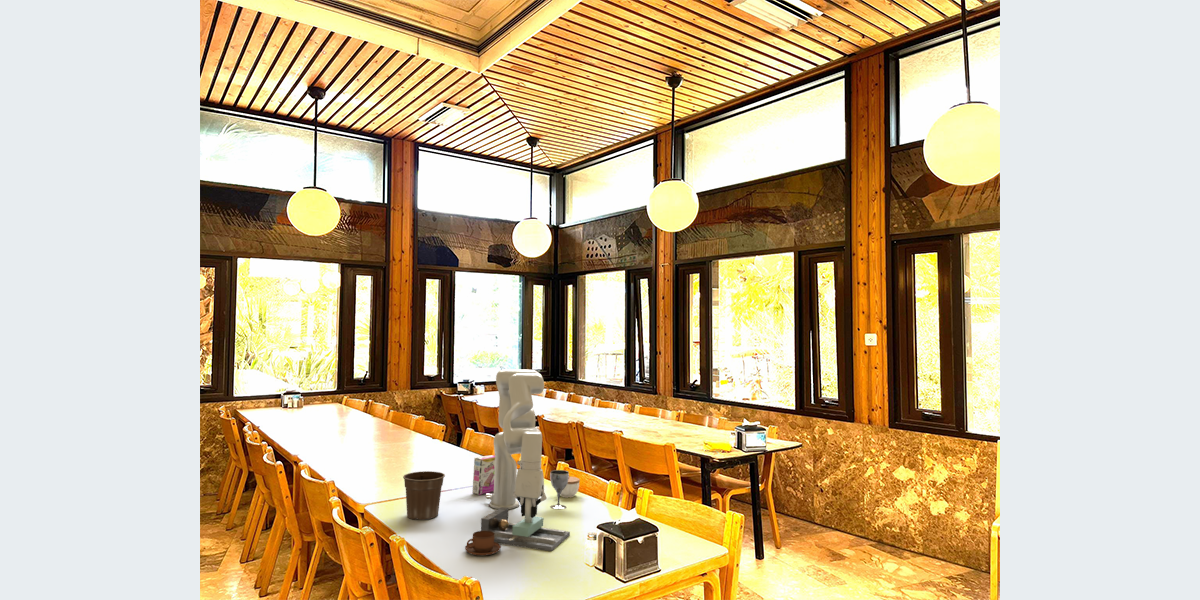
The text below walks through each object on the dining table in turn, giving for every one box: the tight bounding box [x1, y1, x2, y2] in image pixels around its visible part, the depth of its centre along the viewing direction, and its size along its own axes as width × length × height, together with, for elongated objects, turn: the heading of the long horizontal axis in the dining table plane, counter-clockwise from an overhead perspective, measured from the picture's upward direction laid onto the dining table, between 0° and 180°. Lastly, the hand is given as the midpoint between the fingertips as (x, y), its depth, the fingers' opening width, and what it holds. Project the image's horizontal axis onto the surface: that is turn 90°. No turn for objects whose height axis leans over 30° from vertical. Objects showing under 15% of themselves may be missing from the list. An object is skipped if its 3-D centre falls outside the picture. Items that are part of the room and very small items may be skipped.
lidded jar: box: [560, 476, 581, 498], centre depth 289 cm, size 11×11×9 cm
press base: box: [480, 507, 571, 552], centre depth 228 cm, size 28×18×8 cm, turn 72°
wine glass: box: [549, 469, 570, 510], centre depth 270 cm, size 8×8×15 cm
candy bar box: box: [472, 454, 495, 496], centre depth 290 cm, size 11×5×16 cm, turn 144°
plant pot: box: [402, 470, 446, 521], centre depth 250 cm, size 16×16×16 cm
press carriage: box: [512, 498, 545, 537], centre depth 228 cm, size 6×14×16 cm, turn 162°
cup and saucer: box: [464, 530, 502, 557], centre depth 212 cm, size 12×12×6 cm
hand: (528, 515), depth 228 cm, fingers closed on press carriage, 3 cm apart
